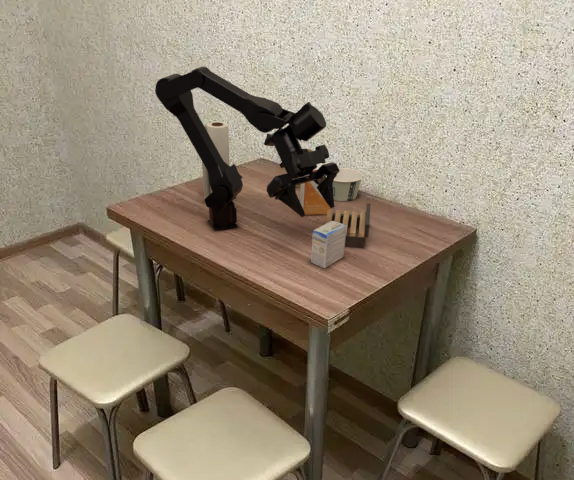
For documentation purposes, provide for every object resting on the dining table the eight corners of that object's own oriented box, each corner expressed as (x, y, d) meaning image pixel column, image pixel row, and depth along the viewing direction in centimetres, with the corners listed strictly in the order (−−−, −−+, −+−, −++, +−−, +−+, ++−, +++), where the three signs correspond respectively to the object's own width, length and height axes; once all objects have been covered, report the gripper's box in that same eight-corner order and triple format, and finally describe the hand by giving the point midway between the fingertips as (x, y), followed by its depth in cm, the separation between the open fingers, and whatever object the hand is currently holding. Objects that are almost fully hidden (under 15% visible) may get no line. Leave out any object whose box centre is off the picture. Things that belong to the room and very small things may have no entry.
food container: (369, 196, 175) (371, 175, 171) (341, 206, 169) (343, 184, 165) (341, 185, 182) (343, 164, 178) (313, 193, 176) (314, 172, 172)
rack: (322, 244, 147) (324, 220, 143) (326, 222, 159) (328, 200, 155) (366, 248, 146) (369, 224, 142) (367, 226, 157) (370, 203, 154)
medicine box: (329, 252, 144) (332, 219, 139) (344, 258, 142) (347, 225, 137) (310, 263, 139) (312, 229, 134) (325, 269, 137) (327, 235, 132)
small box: (302, 215, 162) (305, 169, 154) (299, 206, 167) (301, 161, 159) (331, 214, 163) (334, 169, 155) (326, 206, 168) (330, 161, 160)
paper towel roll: (232, 196, 172) (230, 121, 160) (228, 203, 168) (226, 127, 155) (208, 194, 173) (204, 120, 160) (204, 202, 168) (199, 125, 155)
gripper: (274, 140, 125) (304, 204, 125) (337, 127, 135) (365, 187, 134) (253, 166, 135) (281, 226, 134) (314, 152, 144) (340, 209, 144)
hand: (318, 211), depth 137 cm, fingers open, 9 cm apart
